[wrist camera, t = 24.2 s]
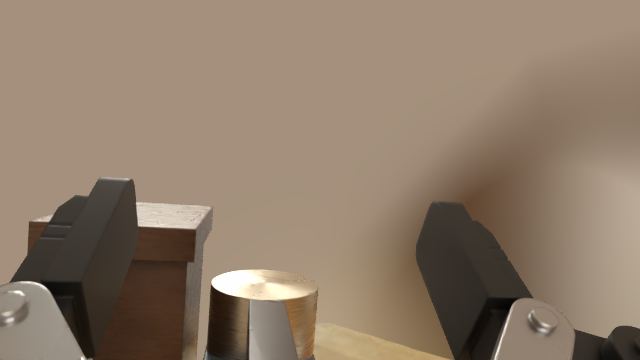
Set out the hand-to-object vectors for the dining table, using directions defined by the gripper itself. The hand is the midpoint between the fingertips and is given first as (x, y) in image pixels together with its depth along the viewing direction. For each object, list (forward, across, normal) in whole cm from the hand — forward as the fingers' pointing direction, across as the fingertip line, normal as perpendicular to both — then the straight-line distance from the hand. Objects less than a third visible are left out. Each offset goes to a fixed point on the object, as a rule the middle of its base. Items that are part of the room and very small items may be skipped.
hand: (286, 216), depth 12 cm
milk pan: (+7, -1, +19) cm, 20 cm away
